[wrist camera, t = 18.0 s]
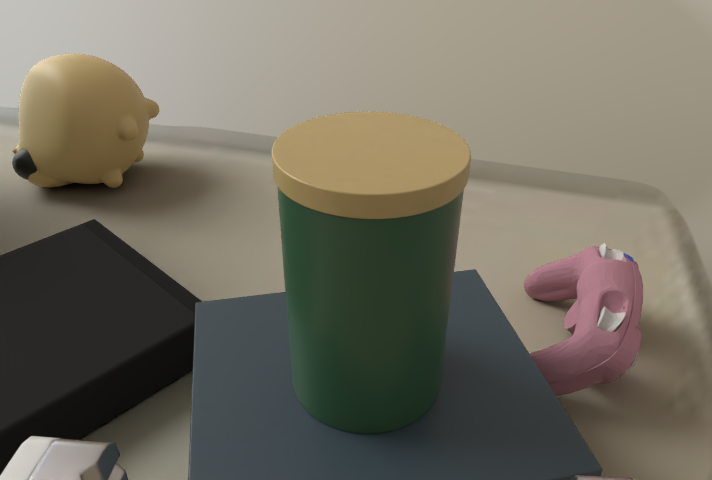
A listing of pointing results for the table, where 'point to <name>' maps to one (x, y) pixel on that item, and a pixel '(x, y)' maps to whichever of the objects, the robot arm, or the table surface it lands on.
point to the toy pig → (80, 122)
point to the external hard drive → (85, 334)
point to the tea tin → (368, 262)
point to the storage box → (388, 449)
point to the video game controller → (590, 317)
